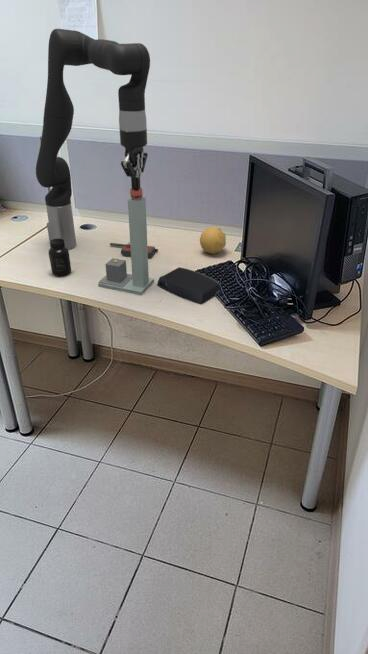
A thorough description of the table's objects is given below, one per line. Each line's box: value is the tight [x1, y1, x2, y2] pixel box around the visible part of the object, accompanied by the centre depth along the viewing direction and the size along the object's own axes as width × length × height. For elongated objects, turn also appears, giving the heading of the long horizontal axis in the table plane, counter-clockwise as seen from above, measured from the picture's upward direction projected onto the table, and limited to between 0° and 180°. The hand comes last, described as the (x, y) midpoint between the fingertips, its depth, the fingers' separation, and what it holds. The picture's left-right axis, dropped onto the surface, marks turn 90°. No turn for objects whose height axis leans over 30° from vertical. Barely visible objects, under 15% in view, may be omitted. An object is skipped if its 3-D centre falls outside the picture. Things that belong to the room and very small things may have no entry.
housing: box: [104, 257, 128, 283], centre depth 159 cm, size 5×5×7 cm
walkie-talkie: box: [109, 241, 159, 260], centre depth 181 cm, size 9×4×20 cm
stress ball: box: [199, 226, 227, 255], centre depth 179 cm, size 10×10×10 cm
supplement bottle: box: [48, 239, 72, 278], centre depth 164 cm, size 7×7×12 cm
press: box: [97, 196, 155, 296], centre depth 152 cm, size 16×10×30 cm, turn 69°
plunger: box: [129, 187, 144, 200], centre depth 143 cm, size 4×4×8 cm
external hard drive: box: [156, 266, 222, 306], centre depth 158 cm, size 13×19×4 cm
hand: (136, 189), depth 141 cm, fingers closed
